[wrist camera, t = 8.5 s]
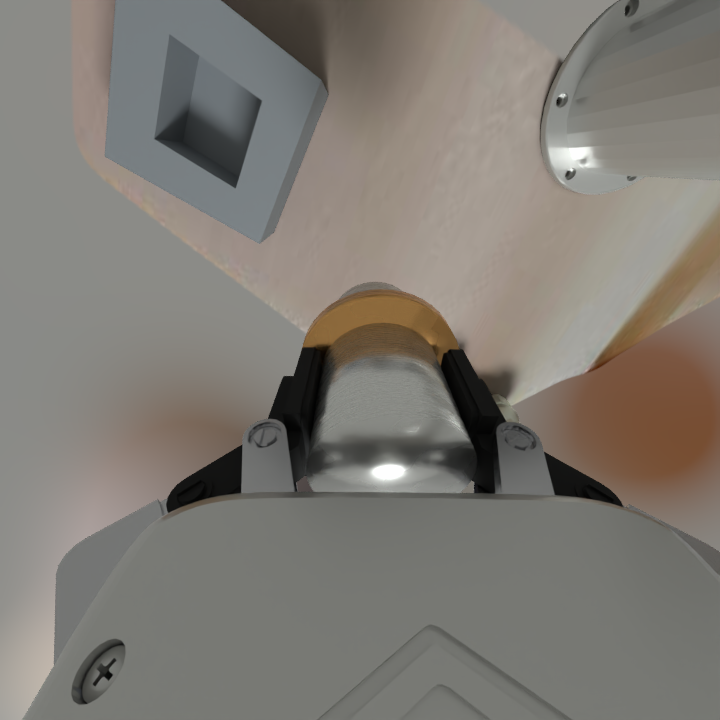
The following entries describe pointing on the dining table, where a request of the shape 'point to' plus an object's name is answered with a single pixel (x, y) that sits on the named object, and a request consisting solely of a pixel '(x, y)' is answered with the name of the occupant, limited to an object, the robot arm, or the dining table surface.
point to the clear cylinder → (385, 398)
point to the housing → (209, 109)
